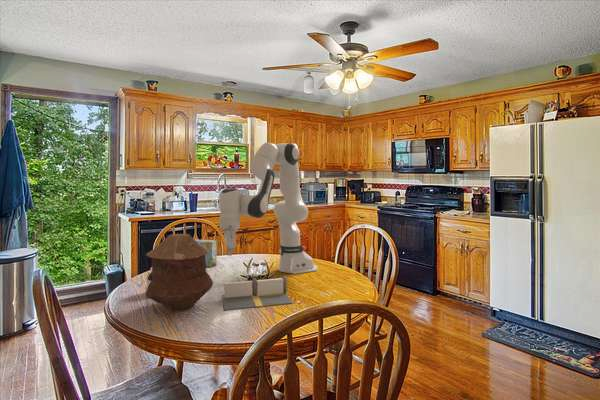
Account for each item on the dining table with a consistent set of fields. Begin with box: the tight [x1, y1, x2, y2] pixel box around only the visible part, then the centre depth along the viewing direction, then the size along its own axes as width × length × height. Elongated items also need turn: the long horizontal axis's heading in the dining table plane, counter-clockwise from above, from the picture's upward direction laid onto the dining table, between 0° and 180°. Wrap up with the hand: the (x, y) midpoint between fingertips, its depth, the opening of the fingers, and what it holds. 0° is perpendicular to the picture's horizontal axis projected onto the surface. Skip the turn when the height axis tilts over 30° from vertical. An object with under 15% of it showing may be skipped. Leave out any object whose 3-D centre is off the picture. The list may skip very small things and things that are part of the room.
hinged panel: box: [223, 280, 253, 298], centre depth 155 cm, size 12×2×6 cm, turn 106°
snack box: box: [193, 238, 218, 268], centre depth 210 cm, size 21×6×15 cm, turn 71°
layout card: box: [221, 291, 293, 311], centre depth 153 cm, size 28×18×1 cm, turn 106°
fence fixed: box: [252, 275, 287, 296], centre depth 158 cm, size 15×2×7 cm, turn 106°
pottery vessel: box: [145, 233, 214, 312], centre depth 144 cm, size 26×26×30 cm
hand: (229, 255), depth 158 cm, fingers closed
